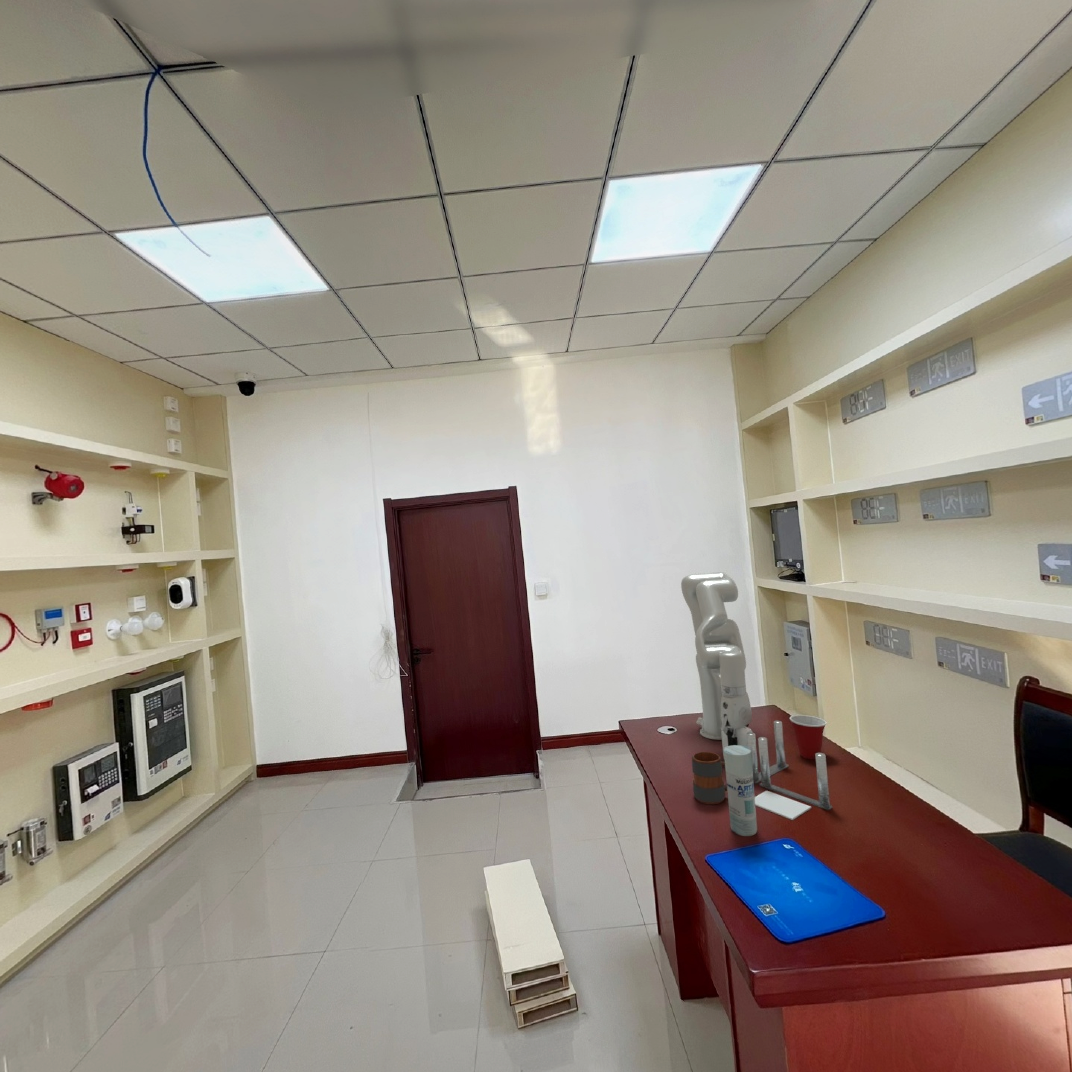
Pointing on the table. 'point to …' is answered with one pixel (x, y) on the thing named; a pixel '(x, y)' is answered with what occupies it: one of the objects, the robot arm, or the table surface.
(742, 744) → the photo printer
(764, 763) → the gate
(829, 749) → the table surface
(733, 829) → the spray paint can
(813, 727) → the plastic cup
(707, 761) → the mug
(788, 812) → the mat
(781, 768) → the gate
